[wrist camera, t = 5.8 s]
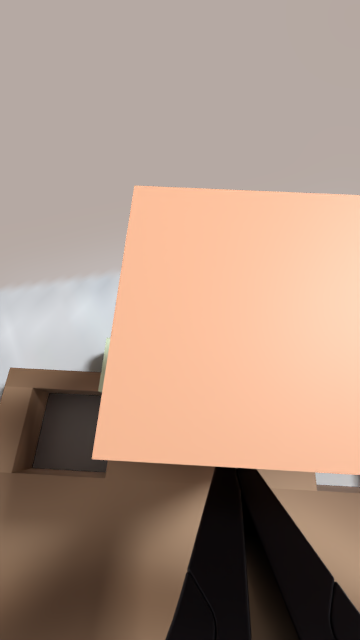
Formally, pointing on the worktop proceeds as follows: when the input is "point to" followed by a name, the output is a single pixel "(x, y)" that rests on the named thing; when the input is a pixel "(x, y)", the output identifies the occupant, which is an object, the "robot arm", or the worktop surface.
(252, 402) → the terracotta block
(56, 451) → the worktop surface
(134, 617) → the walnut board
